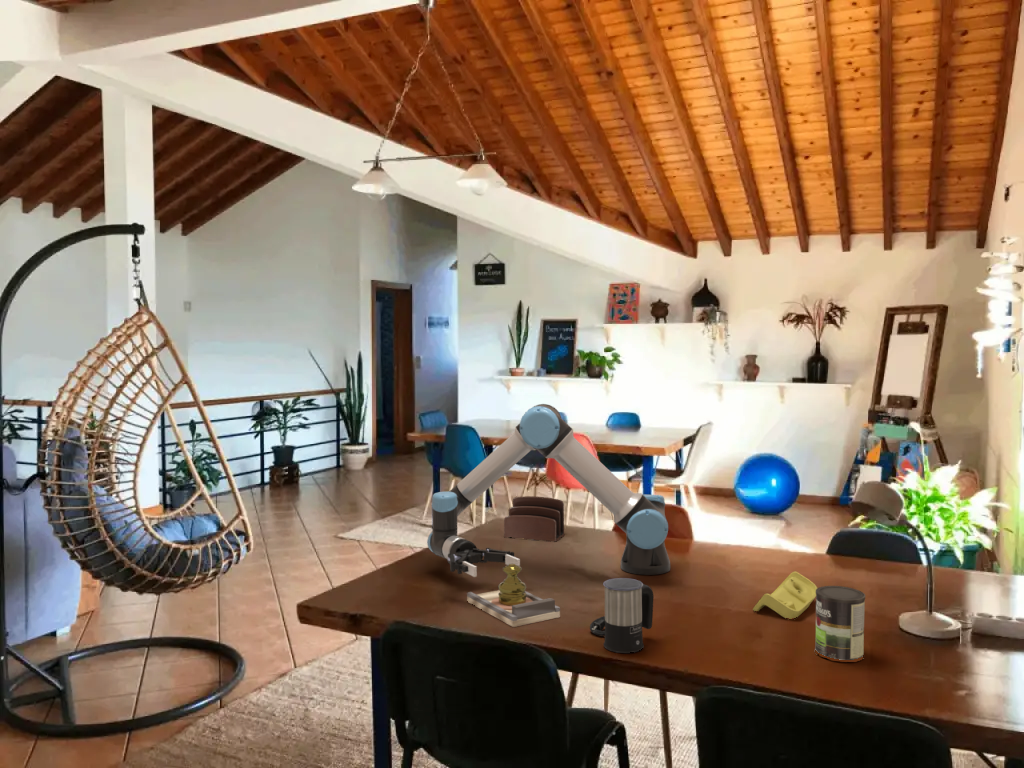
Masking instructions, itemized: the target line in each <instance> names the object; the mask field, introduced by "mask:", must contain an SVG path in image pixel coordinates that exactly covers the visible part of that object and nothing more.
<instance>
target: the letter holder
mask: <svg viewBox="0 0 1024 768" xmlns="http://www.w3.org/2000/svg"><path fill="white" fill-rule="evenodd" d="M564 505H565V503H564V501H562V499H557V498H552V497H545V496H532V495H531V496H529V495H528V496H526V495H525V496H516V497H513V499H512V506H511V507H509V509H508V515H507V516H505V517H504V521H503V524H504V525H503V534H504V535H503V537H504V538H505V537H512V538H511V539H515V538H524V539H523V540H527V539H534V540H533V541H539V540H546V541H545V542H551V541H555V542H558V541H559V540H561V539H562V538H563V537H564V536H565V512H564V511H565V507H564ZM561 537H562V538H561ZM560 538H561V539H560ZM555 542H554V543H555Z"/></svg>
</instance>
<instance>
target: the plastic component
mask: <svg viewBox="0 0 1024 768" xmlns="http://www.w3.org/2000/svg"><path fill="white" fill-rule="evenodd" d="M817 588H818V586H817V585H816V584H815V583H814V582H813V581H811V580H810V579H809V578H807V577H806V576H804V575H802V574H801V573H799V572H798V571H792V572H791V573H790V574H789V575H788V576H787V577H786V578H785V579H784V580H783V581H782V582H781V583H780V585H779V586H777V588H776V589H775V590H774V591H773V592H772V593H765V594H763V595H762V596H761V598H760V599H759V600H758V602H757V603H756V604H755V605H754V607H753V608H752V611H754V612H755V611H758V612H760V609H761V610H762V609H763V608H764V607H768V608H769V609H771V610H772V611H774V612H775V613H777V614H778V615H780V616H781V617H783V618H785V619H786V618H789V619H792V618H796V617H797V618H799V616H800V615H801V614H802V613H804V611H806V610H807V609H808V608H809V607H810V604H811V603H812V602H814V600H816V589H817ZM797 618H796V619H797ZM789 619H788V620H789Z"/></svg>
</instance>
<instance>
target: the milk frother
mask: <svg viewBox="0 0 1024 768" xmlns="http://www.w3.org/2000/svg"><path fill="white" fill-rule="evenodd" d="M602 584H603V586H604V615H603V616H601V617H598V618H596V619H593V620H592V622H591V623H590V625H589V631H590V633H592V634H594V635H596V636H599V637H604V642H603V647H604V648H605V650H607V651H610V652H612V653H618V654H619V653H620V654H631V653H630V652H634V653H638V652H639V650H640V651H642V650H643V649H644V647H645V645H644V641H643V638H644V637H643V629H646V630H650V629H652V627H653V616H654V615H653V614H654V613H653V612H654V592H653V589H652V588H651V587H650V586H649V585H647V584H644V583H643V582H642V581H641V580H639V579H638V580H637V579H634V578H628V577H619V578H618V577H616V578H610V579H607V580H605V581H603V583H602ZM603 629H604V630H603ZM642 648H643V649H642ZM641 649H642V650H641Z"/></svg>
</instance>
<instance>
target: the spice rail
mask: <svg viewBox="0 0 1024 768" xmlns="http://www.w3.org/2000/svg"><path fill="white" fill-rule="evenodd" d="M499 592H500V591H499V589H498V590H493V591H492V590H491V591H487V592H482V593H474V592H472V591H469V592H466V602H467V601H468V602H467V603H469V604H470V605H472V604H473V605H472V606H474V605H475V606H474V607H476V608H478V609H480V610H481V609H482V611H483V612H485V613H487V614H489V615H491V616H492V617H495V618H496V619H497V620H499V621H501V622H503V623H505V624H507V625H508V626H510V627H512V628H516V627H521V626H525V625H529V624H530V625H531V624H534V623H538V622H539V623H541V622H543V621H547V620H552V619H558V618H560V617H561V607H560V606H558V605H556V600H555V599H554V598H551V597H550V598H549V597H548V598H541V597H540V596H537V595H534V594H532V593H530V592H529V591H526V590H525V591H524V592H526V602H525V603H523V604H518V605H513V606H510V605H504V604H501V603H500V602H499V595H498V594H499Z"/></svg>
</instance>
